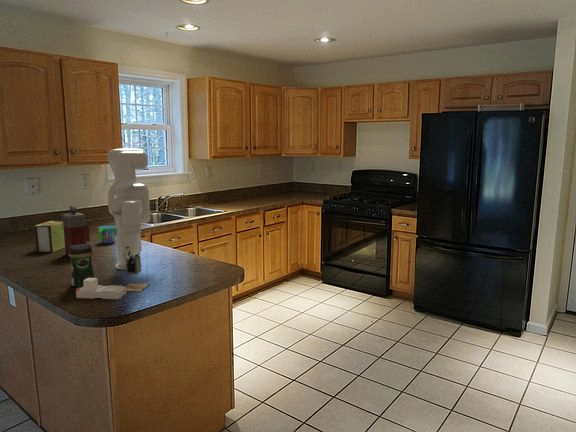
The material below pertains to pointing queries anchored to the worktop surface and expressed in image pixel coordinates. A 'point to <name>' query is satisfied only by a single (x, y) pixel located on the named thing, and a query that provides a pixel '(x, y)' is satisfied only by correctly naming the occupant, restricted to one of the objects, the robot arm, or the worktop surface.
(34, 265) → the worktop surface
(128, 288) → the coaster
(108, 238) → the snack cup
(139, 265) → the block
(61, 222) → the protein box
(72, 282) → the coffee jar
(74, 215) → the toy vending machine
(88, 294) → the power strip
